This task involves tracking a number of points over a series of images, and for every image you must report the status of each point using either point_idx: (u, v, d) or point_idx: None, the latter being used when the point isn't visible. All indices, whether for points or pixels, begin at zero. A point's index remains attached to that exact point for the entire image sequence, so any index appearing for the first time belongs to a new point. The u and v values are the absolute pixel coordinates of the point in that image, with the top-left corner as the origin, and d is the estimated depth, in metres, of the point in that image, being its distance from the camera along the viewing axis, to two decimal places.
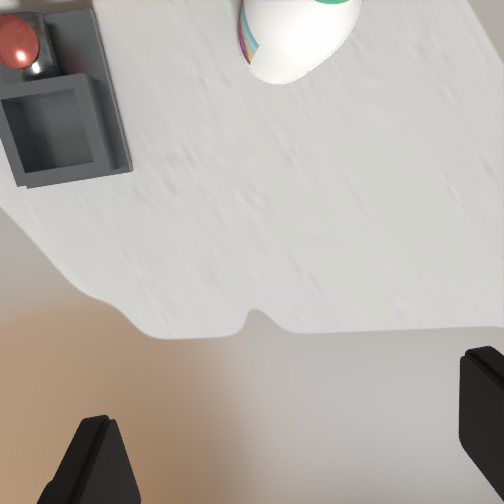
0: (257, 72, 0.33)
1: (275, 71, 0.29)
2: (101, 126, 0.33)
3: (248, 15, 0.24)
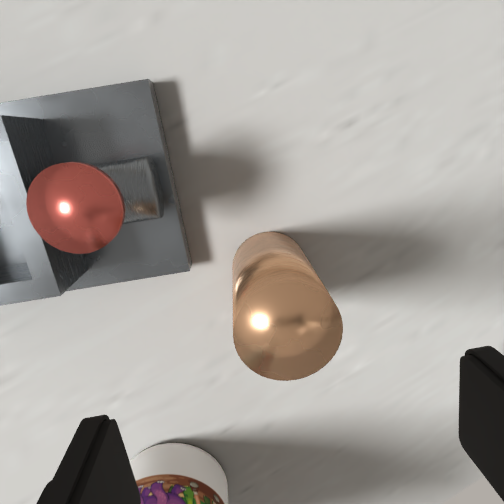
0: None
1: None
2: None
3: None
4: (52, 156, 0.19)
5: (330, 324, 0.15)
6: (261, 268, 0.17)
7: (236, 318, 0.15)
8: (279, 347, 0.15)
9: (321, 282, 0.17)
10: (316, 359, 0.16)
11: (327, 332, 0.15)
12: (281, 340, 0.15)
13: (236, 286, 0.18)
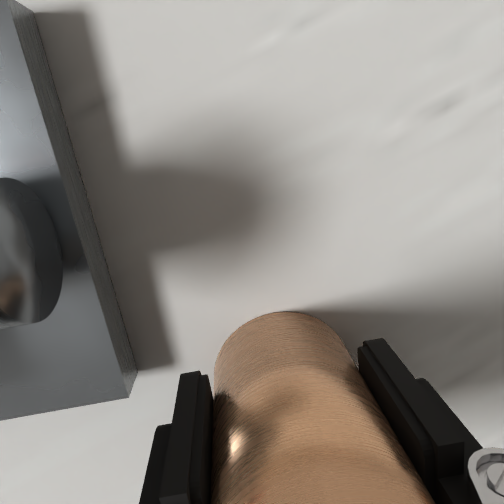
0: None
1: None
2: None
3: None
4: None
5: None
6: (281, 484, 0.06)
7: None
8: None
9: None
10: None
11: None
12: None
13: (217, 500, 0.07)
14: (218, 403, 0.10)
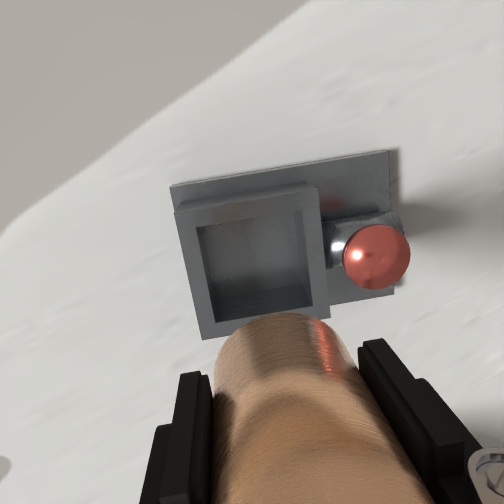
0: None
1: None
2: None
3: None
4: None
5: None
6: (281, 487, 0.06)
7: None
8: None
9: None
10: None
11: None
12: None
13: (217, 502, 0.07)
14: (218, 404, 0.10)
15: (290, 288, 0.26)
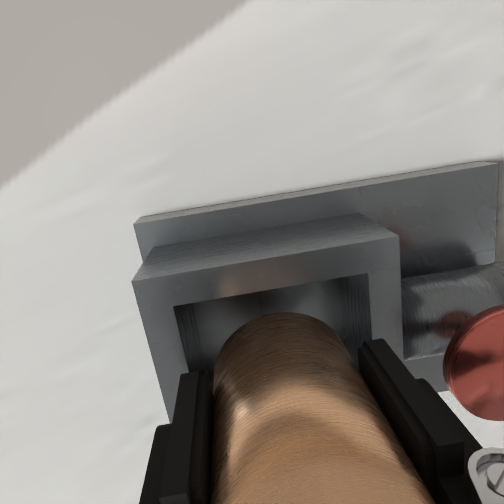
0: None
1: None
2: None
3: None
4: None
5: None
6: (281, 486, 0.06)
7: None
8: None
9: None
10: None
11: None
12: None
13: (216, 502, 0.07)
14: (218, 404, 0.10)
15: None
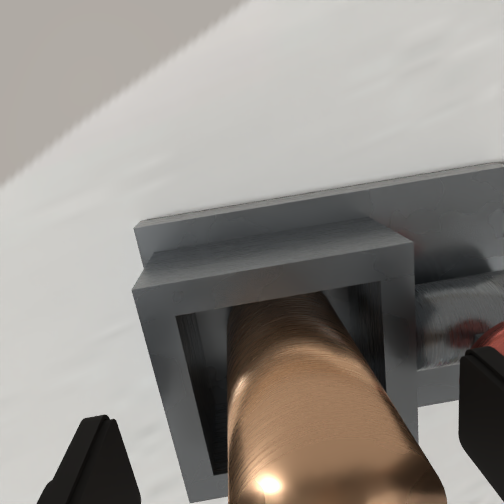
0: None
1: None
2: None
3: None
4: None
5: None
6: (279, 376, 0.09)
7: None
8: None
9: (390, 401, 0.09)
10: None
11: None
12: None
13: (233, 398, 0.10)
14: (231, 344, 0.12)
15: None
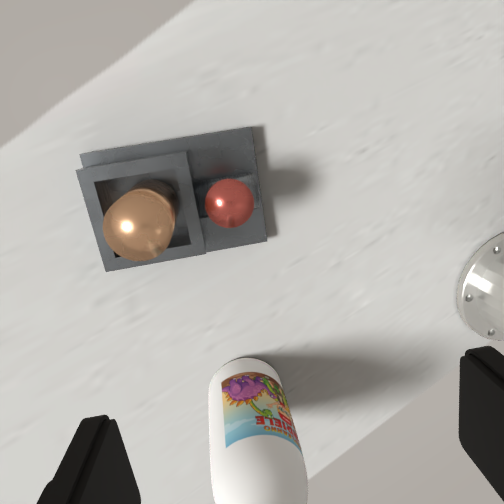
0: (215, 390, 0.37)
1: (211, 432, 0.33)
2: None
3: (247, 448, 0.28)
4: (191, 172, 0.32)
5: (163, 223, 0.25)
6: (126, 193, 0.26)
7: (104, 219, 0.24)
8: (133, 238, 0.25)
9: (165, 202, 0.26)
10: (158, 246, 0.25)
11: (163, 228, 0.25)
12: (134, 234, 0.25)
13: None
14: None
15: (182, 235, 0.33)
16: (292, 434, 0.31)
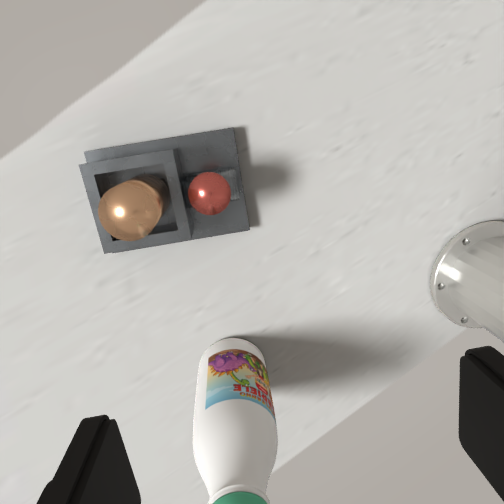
0: (202, 365, 0.40)
1: (196, 399, 0.37)
2: None
3: (222, 409, 0.32)
4: (180, 167, 0.36)
5: (149, 208, 0.29)
6: None
7: (99, 205, 0.29)
8: (123, 221, 0.29)
9: (152, 191, 0.31)
10: (145, 228, 0.30)
11: (148, 213, 0.29)
12: (124, 217, 0.29)
13: None
14: None
15: (172, 224, 0.37)
16: (266, 401, 0.35)
